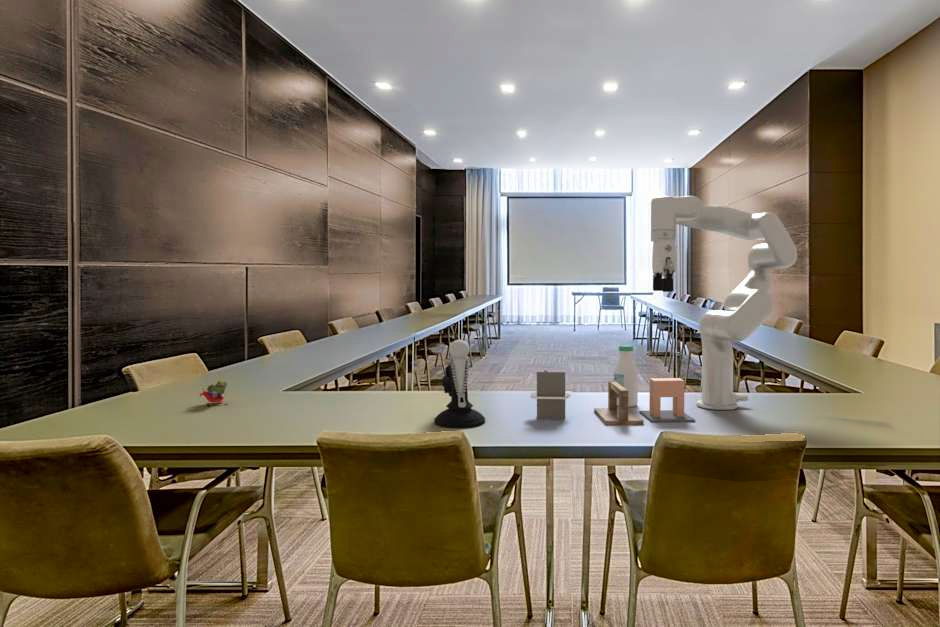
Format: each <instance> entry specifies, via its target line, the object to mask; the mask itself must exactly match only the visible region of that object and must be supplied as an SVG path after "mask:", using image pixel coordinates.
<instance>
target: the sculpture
mask: <svg viewBox="0 0 940 627" xmlns="http://www.w3.org/2000/svg"><path fill="white" fill-rule="evenodd" d="M448 353H449V354H450V356H449V364H448V365H447V366H446V367H445V370H444V373H445V374H444V376H443V377H442V379H441V384H442V387H443V390H444V391H443V392H444V394H448V396H449V397H450V399H451V400H450V402H449V403H448V404H446V409H445V410H443V411H441V412H440V413H438V414H437V415H436V417H435V418H434V424H435V426H438V427H441V428H447V429H468V428H469V429H470V428H476V427H480V426H482V425H485V424H486V417H485V416H484V415H483V414H482V413H481V412H480V411H478V410H476V409H473V407H474V405H473V404H472V402H470V401H469V400H468V399H469V398H468V395H469V394H468V380H469V379H468V377H469V375H468V374H469V371H470V370H469V368H470V363H469V362H470V360H469V357H468V355H469V354H470V345H469V343H468V342H467V341H465V340H463V339H455V340H454V341H452V342H451V343H450V344H449V346H448Z"/></svg>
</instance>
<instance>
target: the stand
mask: <svg viewBox="0 0 940 627" xmlns="http://www.w3.org/2000/svg"><path fill="white" fill-rule="evenodd" d="M607 382H608V383H607V384H608V385H607V387H608V388H607V392H608V393H607V394H608V395H607V397H608V400H607V401H608V402H607V407H604V408H603V407H598V408H597V407H595V408H593V409H594V410H593V412H594V413H595V415H596V416H597V417H598V418H599V419H600V420H601V421H602V423H603V424H604V425H605V426H619V425H620V426H623V425H624V426H626V425H627V426H629V425H630V426H634V425H635V426H636V425H639V426H641V425H644V420H643V419H642V418H641V417H640V416H639V415H638V414H637V413H636V412H634V411H633V409H631V408H630V407H628V390H627V389H625V388H623V387H622V386H621V385H619V384H618V383H617V382H616V381H614V380H608V381H607ZM617 394H619V406H617Z"/></svg>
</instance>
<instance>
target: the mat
mask: <svg viewBox="0 0 940 627" xmlns="http://www.w3.org/2000/svg"><path fill="white" fill-rule="evenodd" d="M638 412H639V414H640V415H642V416H643V417H644V418H645V419H647V421H649V422H650V423H678V422H677V421H695V422H696V419H695V418H693V417H692V416H690V415H689V414H687V413H686V412H684V417H677V416H676V415H674V414H673V409H672V410H670V409H669V410H667V409H666V410H665V409H663V410H661V409H660V417H653V416H652V415H651V414H649V413H650V410H639V411H638Z"/></svg>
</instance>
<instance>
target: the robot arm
mask: <svg viewBox="0 0 940 627" xmlns="http://www.w3.org/2000/svg"><path fill="white" fill-rule="evenodd" d="M677 226H681V227H686V228H691V229H697V230H698V229H699V230H703V231H708V232H716V233H719V234H724V235H728V236H731V237H734V238H737V239H742V240H748V241H758V240H764V243H763V242H762V243H759V244H755V245H754V246H752V247H751V248H750V249H749V251H748V254H747V264H748V270H747V271H748V272H747V275H746V277H745V278H743V280H742V281H741V282H740V283H739V284H737V286H736V287H735V288H734V289H733V290H731V292H730V293H729V294H728V295H727V296H726V297H725V299H724V302H723V309H724V310H722V309H721V310H720V309H713V310H708V311H706V312H705V313H703V315H702V316H701V318H700V320H699V323H698V324H699V325H698V326H699V333H700V339H701V347H702V348H701V349H702V350H701V352H702V353H701V355H702V356H701V399H699V400H697V401H696V406H697V407H700V408H702V409H707V410H714V411H731V410H735V409H737V408H739V404H738V402H739V401H740V402H747V401H748V400H749V397H748V395H747V394H743V395H742V394H736V393H735V392H734V391H733V390H734V349H733V345H732V343H739V342H743V341H745V340H747V339H748V338H750V336H752V334H754V333H755V332H756V331H757V329H759V327H760V326H762V324H763V323H764V322H766V320H767V319H768V318H769V317H770V316H771V314H772V311H773V308H774V297H773V296H772V295H771V293H769V292H771V289H772V287H773V278H772V270H771V269H773V270H774V269H788V268H790V267H792V266H793V265H795V263H796V262H797V259H798V250H797V247H796V245H795V243H794V241H793V239H792V238H791V236H790V234H789V232H788V231H787V229H786V227H785V226H784V224H783V222H782V221H781V220H780V218H779V216H777V215H776V214H775V213H773V212H770V211H766V212H759V213H751V212H748V211H745V210H744V211H743V210H740V209H736V208H733V207H730V206H727V205H704V203H703V202H702V200H701V199H700V198H699V197H698V196H696V195H695V196H694V195H683V196H670V195H663V196H661V195H660V196H655V197H653V198H652V199H651V202H650V242H652V243H653V244H652V256H651V257H652V260H651V263H652V264H651V265H652V266H651V267H652V273H653V274H652V291H654V292H657V291H658V292H661V291H662V292H666V293H667V292H669V293H670V292H674V277H675V276H674V273H675V272H676V271H677V251H676V241H677V237H676V236H677Z"/></svg>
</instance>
